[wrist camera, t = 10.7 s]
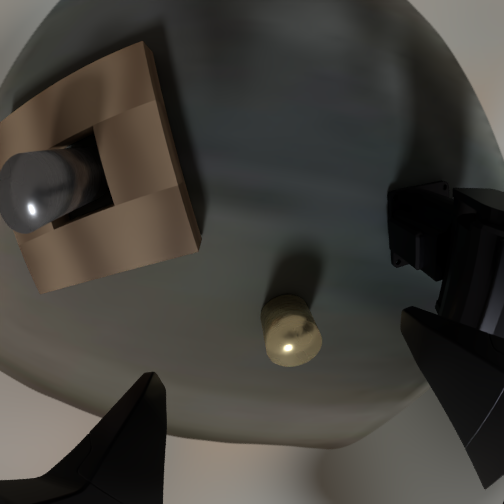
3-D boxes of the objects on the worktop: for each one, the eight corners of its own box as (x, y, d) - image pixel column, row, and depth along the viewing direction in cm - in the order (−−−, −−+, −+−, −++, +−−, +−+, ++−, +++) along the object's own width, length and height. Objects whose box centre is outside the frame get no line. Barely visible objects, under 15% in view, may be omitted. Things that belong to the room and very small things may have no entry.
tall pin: (118, 190, 18) (59, 218, 11) (75, 208, 18) (10, 243, 11) (103, 138, 17) (37, 138, 9) (60, 159, 17) (-11, 173, 9)
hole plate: (152, 52, 15) (142, 40, 12) (201, 239, 20) (198, 252, 17) (8, 130, 15) (-11, 131, 13) (54, 280, 20) (40, 294, 18)
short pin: (305, 288, 22) (319, 317, 18) (311, 327, 23) (324, 358, 20) (255, 301, 22) (261, 332, 18) (266, 339, 24) (272, 371, 20)
